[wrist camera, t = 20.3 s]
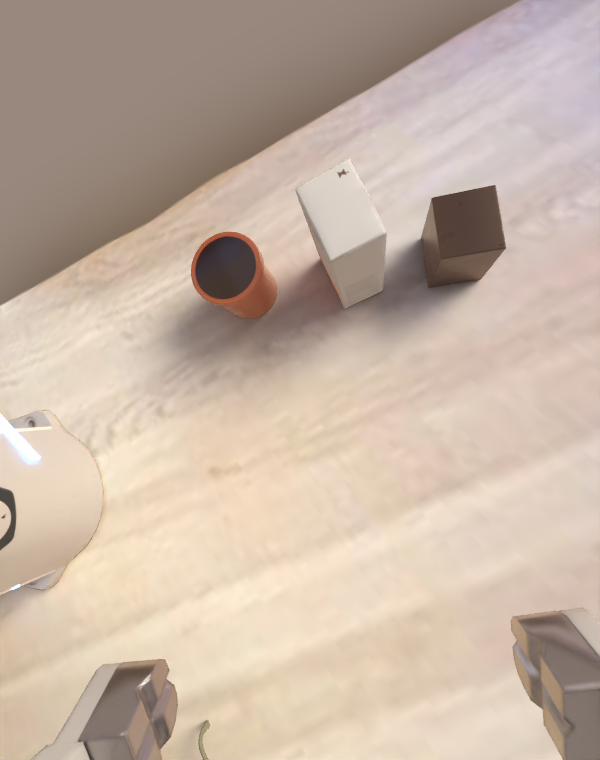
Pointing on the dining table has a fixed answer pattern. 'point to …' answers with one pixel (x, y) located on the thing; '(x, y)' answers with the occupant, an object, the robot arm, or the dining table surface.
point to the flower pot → (233, 275)
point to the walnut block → (462, 236)
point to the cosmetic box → (345, 232)
